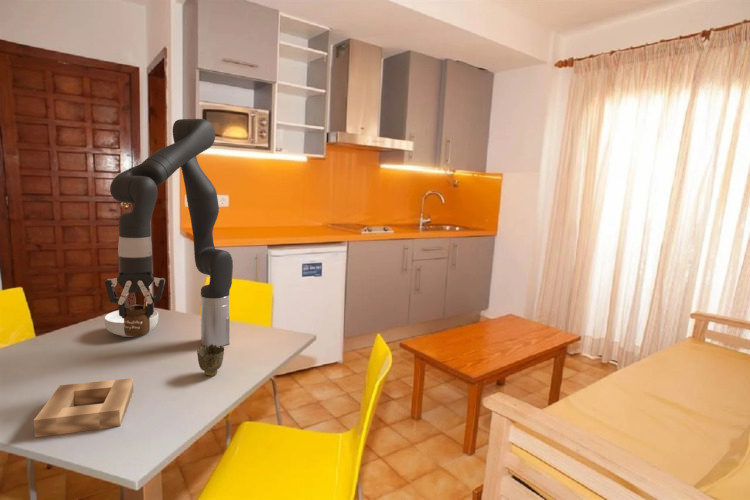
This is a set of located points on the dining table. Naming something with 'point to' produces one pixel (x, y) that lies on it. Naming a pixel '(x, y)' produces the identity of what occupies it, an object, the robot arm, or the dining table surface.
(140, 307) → the utensil holder
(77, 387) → the oak socket block
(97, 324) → the dining table surface
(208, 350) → the cup
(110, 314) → the cereal bowl
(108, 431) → the dining table surface
